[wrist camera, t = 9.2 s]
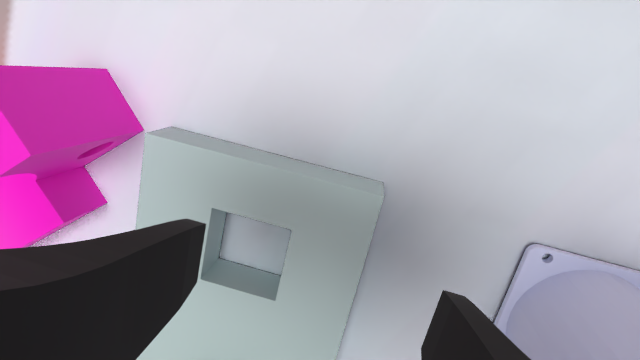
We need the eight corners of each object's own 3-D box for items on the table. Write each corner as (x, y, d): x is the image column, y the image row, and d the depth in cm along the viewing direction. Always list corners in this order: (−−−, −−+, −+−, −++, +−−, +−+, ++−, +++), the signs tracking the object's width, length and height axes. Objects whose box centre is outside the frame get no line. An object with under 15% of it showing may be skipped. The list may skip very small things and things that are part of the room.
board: (383, 182, 20) (384, 196, 18) (302, 456, 26) (295, 494, 24) (171, 126, 21) (145, 133, 19) (137, 403, 27) (114, 435, 24)
